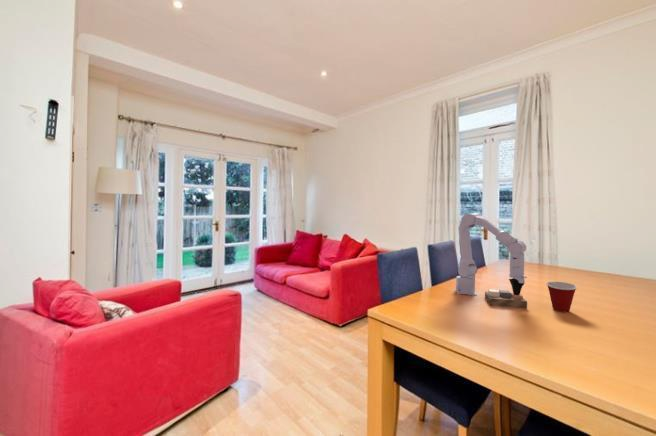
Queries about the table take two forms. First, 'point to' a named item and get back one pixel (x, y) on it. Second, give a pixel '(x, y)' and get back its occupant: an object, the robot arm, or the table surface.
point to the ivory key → (493, 293)
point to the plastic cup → (561, 295)
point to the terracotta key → (516, 296)
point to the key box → (506, 302)
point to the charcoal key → (505, 294)
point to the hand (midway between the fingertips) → (516, 294)
